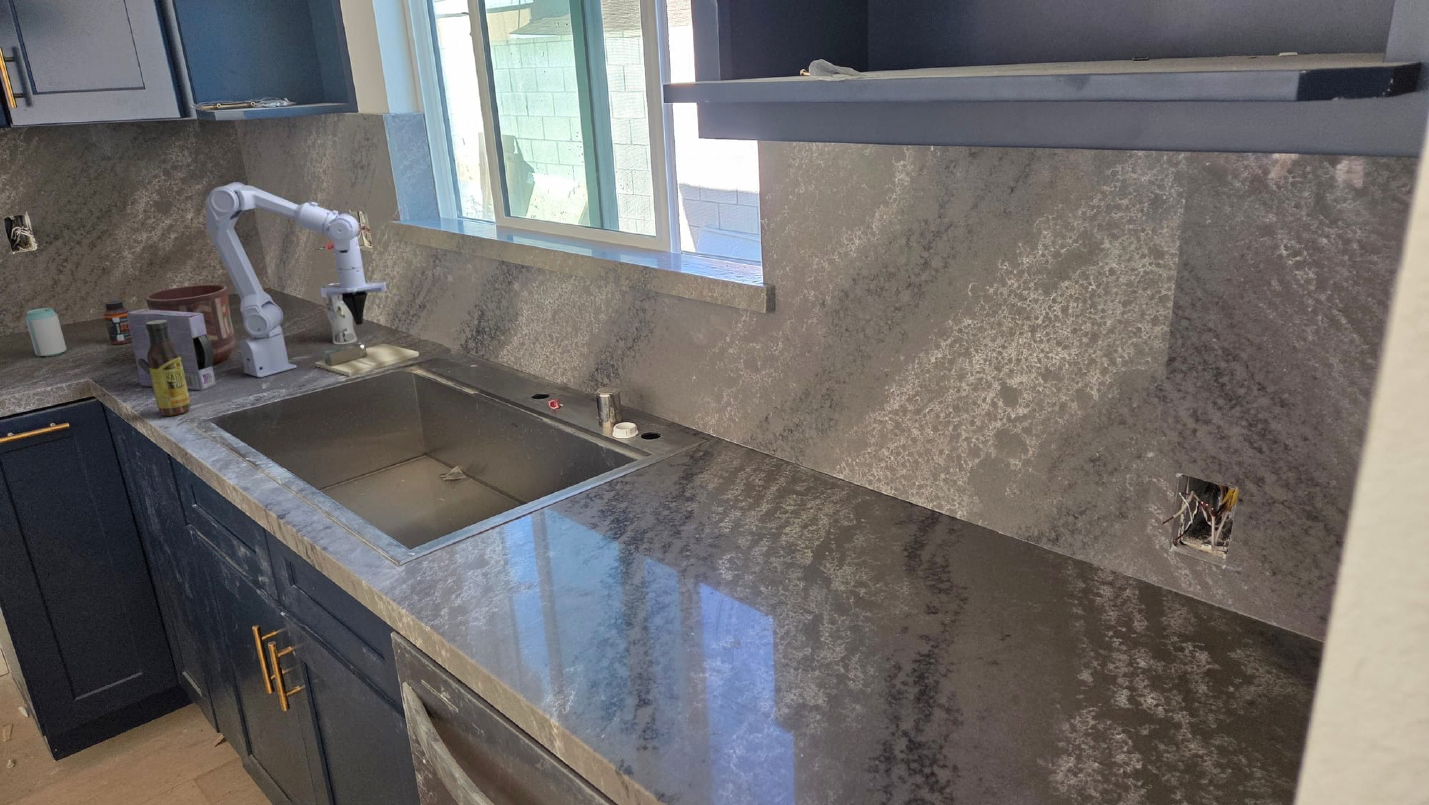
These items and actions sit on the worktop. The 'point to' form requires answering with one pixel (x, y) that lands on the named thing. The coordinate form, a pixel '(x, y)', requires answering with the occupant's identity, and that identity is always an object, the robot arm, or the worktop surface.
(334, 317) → the beer glass
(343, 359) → the swing bar
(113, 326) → the supplement bottle
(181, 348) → the cake pan box
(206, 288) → the pottery
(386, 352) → the board
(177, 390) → the sauce bottle
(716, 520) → the worktop surface
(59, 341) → the can
